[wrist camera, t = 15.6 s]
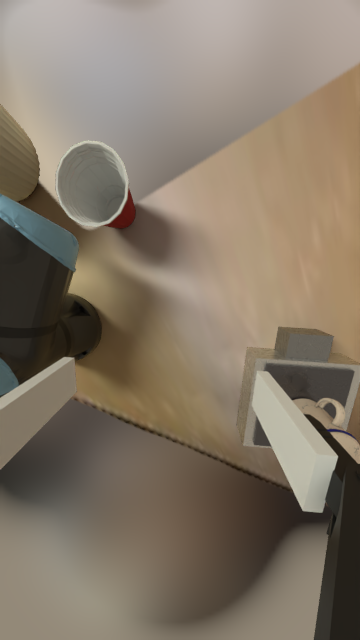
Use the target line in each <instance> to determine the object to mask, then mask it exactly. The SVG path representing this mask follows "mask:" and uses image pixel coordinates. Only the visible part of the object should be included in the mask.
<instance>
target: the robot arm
mask: <svg viewBox="0 0 360 640" xmlns="http://www.w3.org/2000/svg"><path fill="white" fill-rule="evenodd" d="M78 251H79V243H78V241H77V239H76V237H75V236H74V235H73V234H72V233H71V232H69V231H67V230H66V229H64V228H62V227H61V226H59V225H57V224H55V223H53V222H52V221H50V220H48V219H46V218H45V217H43V216H41V215H39V214H37V213H36V212H34V211H32V210H30V209H28V208H26V207H25V206H23V205H21V204H19V203H17V202H16V201H14V200H12V199H10V198H8V197H6V196H4V195H2V194H1V193H0V469H1V468H2V467H3V466H4V465H5V464H6V463H7V462H8V461H9V460H10V459H11V458H12V457H13V456H14V455H15V454H16V453H17V452H18V451H19V450H20V449H21V448H22V447H23V445H25V444H26V443H27V442H28V441H29V440H30V439H31V438H32V437H33V436H34V435H35V434H36V433H37V432H38V431H39V429H40V428H42V426H44V424H45V423H46V422H47V421H48V420H49V419H50V418H51V417H52V416H53V415H54V414H55V413H56V412H57V411H58V410H59V409H60V408H61V407H62V406H63V405H64V404H65V403H66V402H67V401H68V400H69V399H70V398H71V397H72V396H73V395H74V394H75V393H76V392H77V389H76V374H75V361H77V360H80V359H82V358H84V357H85V356H87V355H88V354H90V353H91V352H92V351H93V350H94V349H95V348H96V347H97V345H98V343H99V341H100V338H101V322H100V319H99V316H98V314H97V312H96V311H95V309H94V308H93V307H92V306H91V305H90V304H89V303H88V302H87V301H86V300H84V299H83V298H81V297H79V296H77V295H74V294H70V293H68V289H69V286H70V283H71V280H72V276H73V273H74V272H75V271H76V269H75V264H76V260H77V255H78ZM252 407H253V409H254V411H255V413H256V415H257V417H258V419H259V421H260V423H261V425H262V428H263V430H264V432H265V434H266V436H267V438H268V440H269V442H270V444H271V446H272V448H273V450H274V452H275V454H276V456H277V458H278V461H279V463H280V465H281V467H282V469H283V471H284V473H285V475H286V477H287V479H288V481H289V483H290V485H291V487H292V489H293V491H294V494H295V496H296V498H297V500H298V502H299V504H300V505H301V508H302V510H303V511H309V512H320V513H322V512H323V508H324V505H325V502H327V504H328V505H329V507H330V509H331V510H332V512H333V514H332V517H331V520H330V524H329V527H328V530H327V534H328V535H329V536H328V544H327V550H326V558H325V565H324V572H323V578H322V586H321V594H320V600H319V607H318V614H317V621H316V628H315V635H314V640H360V464H358V463H357V462H356V461H355V460H354V459H353V458H352V457H351V455H350V454H349V453H348V452H347V451H346V450H345V449H344V448H343V447H342V445H341V444H340V443H339V442H338V441H337V440H336V439H335V438H334V437H333V435H332V434H331V433H330V432H329V431H327V429H326V428H325V427H324V426H323V424H322V423H321V422H320V421H318V420H317V419H316V418H314V417H313V416H311V415H310V414H303V413H302V412H301V411H300V410H299V408H298V407H297V406H296V405H295V404H294V402H293V401H292V400H291V399H290V398H289V396H288V395H287V394H286V393H285V392H284V390H283V389H282V388H281V387H280V386H279V384H278V383H277V382H276V381H275V379H274V378H273V377H272V376H271V375H270V373H269V372H267V371H257V374H256V380H255V387H254V393H253V400H252Z"/></svg>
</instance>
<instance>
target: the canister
mask: <svg viewBox="0 0 360 640" xmlns="http://www.w3.org/2000/svg"><path fill="white" fill-rule="evenodd" d="M39 171H40V168H39V161H38V155H37V154H36V150H35V148H34V146H33V144H32V142H31V140H30V139H29V137H28V136H27V134H26V133H25V131H24V130H23V129H22V128H21V127H20V125H19V124H18V123H17V122H16V121H15V120H14V119H13V117H12V116H11V115H10V114H9V113H8V112H7V111H6V110H5V109H4V107H3V106H2V105H1V104H0V193H1V194H2V195H4V196H6V197H8V198H10V199H12V200H14V201H16V202H18V201H20V200H24V198H27V197H28V196H29V195H30V194H32V192H33V191H34V190H35V187H36V186H37V182H38V181H39V180H38V178H39V176H40V175H39Z"/></svg>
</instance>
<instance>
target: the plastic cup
mask: <svg viewBox="0 0 360 640" xmlns="http://www.w3.org/2000/svg"><path fill="white" fill-rule="evenodd" d="M55 189H56V193H57V196H58V199H59V203H60V205H61V207H62V208H63V209H64V211H65V212H66V213H67V215H68V216H69V218H71V219H73V220H74V221H76V222H77V223H79V224H81V225H83V226H91V227H100V226H108V227H114V228H121V229H122V228H125V227H128V226H129V225H130V224H132V222H133V220H134V218H135V207H134V203H133V199H132V196H131V193H130V190H129V181H128V177H127V173H126V169H125V165H124V164H123V162H122V160H121V159H120V157H119V156H118V155H117V153H116V152H115V150H113V149H112V148H110V147H108V146H107V145H105V144H104V143H102V142H98V141H88V140H86V141H83V142H81V143H79V144H76V145H73V146H72V147H71V148H70V149H69V150H68V151H67V152H66V153H65V154H64V155H63V157H62V158H61V161H60V163H59V165H58V168H57V171H56V186H55Z"/></svg>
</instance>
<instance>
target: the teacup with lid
mask: <svg viewBox="0 0 360 640" xmlns="http://www.w3.org/2000/svg"><path fill="white" fill-rule="evenodd" d="M292 401H293V402H294V404H295V405H296V406H297V407H298V408H299V410H300V411H301V412H302V413H303V414H310V415H311V416H313V417H314V418H316V419H317V420H318V421H320V422H321V423H322V424H323V426H324V427H325V428H326V429H327V431H329V432H330V433H331V434H332V435H333V437H334V438H335V439H336V440H337V441H338V442H339V443H340V444H341V445H342V447H343V448H344V449H345V450H346V451H347V452H348V453H349V454H350V455H351V457H352V458H353V459H354V460H355V461H356V462H357V463H358V464H360V445H359V443H358V441H357V440H356V438H355V437H353V436H352V435H351V434H349V433H348V432H346V431H345V430H344V429H343V428H342V427H341V425H342V423H343V422H344V419H345V410H344V407H343V406H342V405H341V404H340V403H339V402H338V401H336V400H334V399H331V398H322V399H320V400H319V401H318V402H317V403H316V402H315V401H313V400H310V399H304V398H301V399H295V400H292ZM328 403H332V404H333V405H334V406H335V408H336V416H335V418H334V419H333V418H332V417H331V416H330V415H329V414H328V413H327V412H326V411H325V410H324V409H323V408H324V406H325V405H326V404H328Z"/></svg>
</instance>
